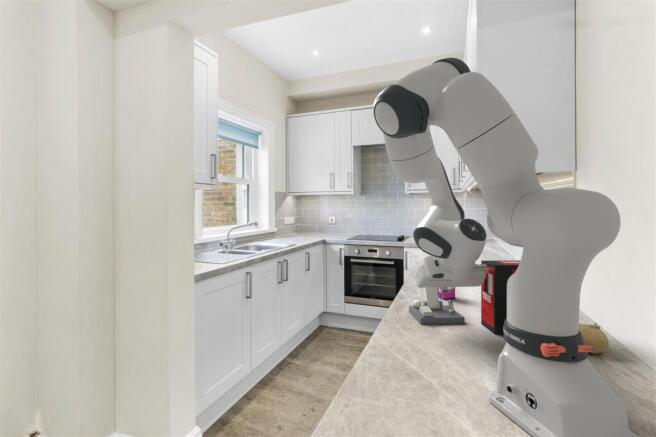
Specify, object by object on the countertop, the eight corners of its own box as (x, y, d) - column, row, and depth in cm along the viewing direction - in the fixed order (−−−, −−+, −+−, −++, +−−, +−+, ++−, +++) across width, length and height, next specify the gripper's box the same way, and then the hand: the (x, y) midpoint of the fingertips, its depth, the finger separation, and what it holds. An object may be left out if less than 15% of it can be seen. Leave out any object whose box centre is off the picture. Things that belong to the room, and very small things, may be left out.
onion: (589, 359, 76) (590, 329, 76) (559, 345, 84) (560, 318, 84) (616, 356, 78) (617, 327, 78) (584, 343, 86) (585, 316, 85)
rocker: (432, 315, 101) (432, 311, 101) (423, 316, 101) (423, 312, 101) (427, 310, 105) (428, 306, 105) (419, 310, 105) (419, 306, 105)
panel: (464, 323, 101) (464, 308, 101) (420, 324, 100) (420, 309, 100) (447, 310, 114) (447, 297, 114) (408, 311, 113) (408, 298, 113)
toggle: (455, 313, 103) (453, 299, 105) (450, 313, 103) (448, 299, 105) (454, 313, 104) (452, 300, 106) (449, 313, 104) (446, 300, 106)
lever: (440, 308, 108) (435, 271, 112) (428, 308, 107) (423, 272, 112) (437, 309, 110) (432, 273, 114) (426, 309, 110) (421, 273, 114)
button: (422, 307, 110) (422, 301, 110) (414, 307, 110) (414, 302, 110) (420, 305, 113) (420, 299, 113) (412, 305, 113) (412, 299, 113)
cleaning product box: (534, 324, 100) (535, 260, 99) (554, 335, 91) (554, 265, 91) (481, 324, 100) (481, 260, 100) (495, 334, 91) (495, 265, 91)
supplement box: (434, 296, 133) (434, 269, 133) (446, 295, 135) (446, 268, 135) (443, 300, 128) (443, 271, 128) (455, 298, 129) (455, 270, 129)
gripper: (487, 255, 95) (472, 281, 105) (418, 257, 95) (410, 282, 105) (495, 273, 91) (479, 298, 100) (423, 275, 90) (414, 300, 100)
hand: (443, 290), depth 103 cm, fingers closed
